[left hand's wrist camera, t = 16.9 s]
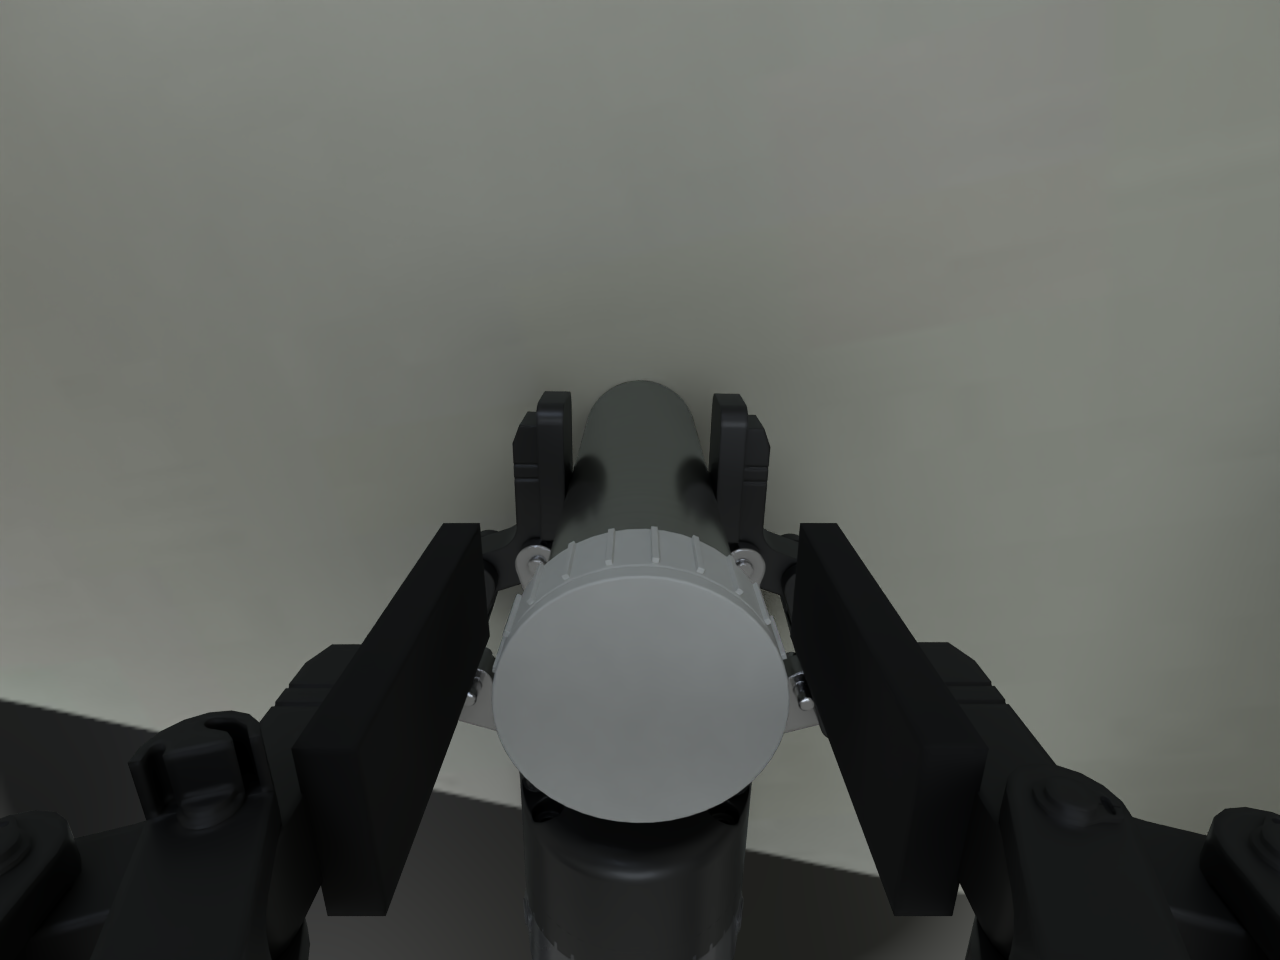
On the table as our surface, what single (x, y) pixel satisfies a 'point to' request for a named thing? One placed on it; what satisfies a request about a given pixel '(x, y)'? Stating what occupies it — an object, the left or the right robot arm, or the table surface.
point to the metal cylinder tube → (640, 471)
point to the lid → (640, 678)
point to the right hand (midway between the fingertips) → (643, 401)
